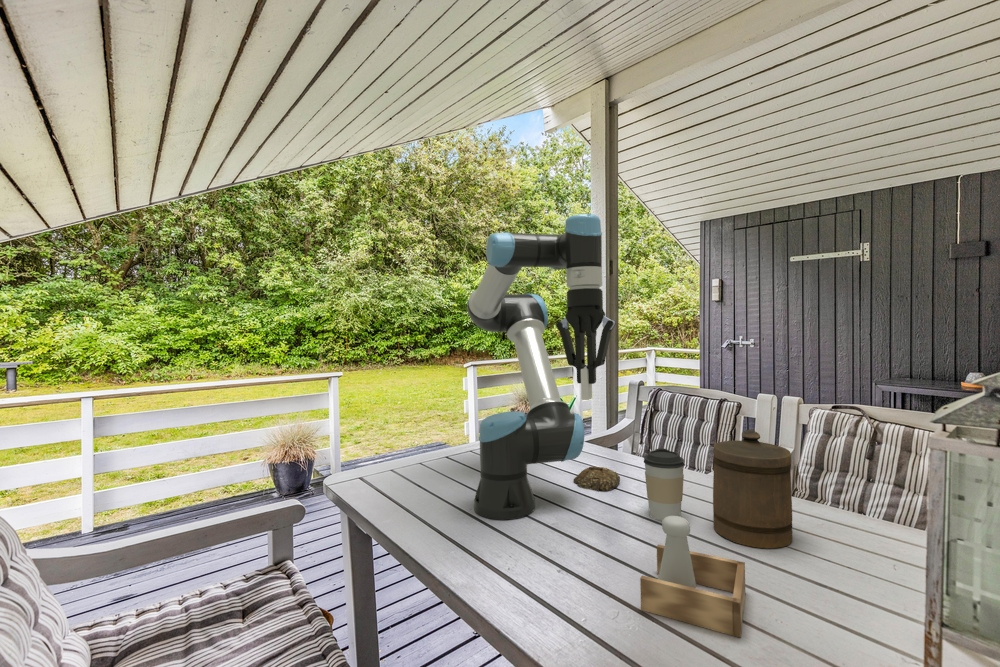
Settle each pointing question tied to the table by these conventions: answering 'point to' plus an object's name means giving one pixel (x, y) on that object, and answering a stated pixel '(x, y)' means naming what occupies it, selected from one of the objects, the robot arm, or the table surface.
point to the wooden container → (752, 492)
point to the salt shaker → (677, 553)
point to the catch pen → (700, 594)
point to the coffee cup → (664, 483)
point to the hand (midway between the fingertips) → (586, 398)
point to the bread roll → (597, 479)
